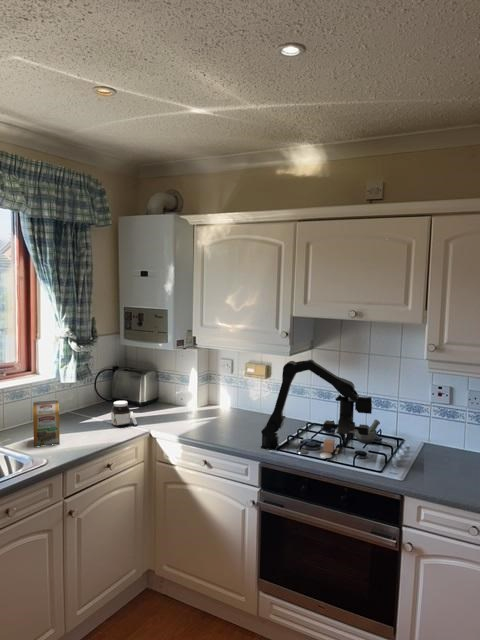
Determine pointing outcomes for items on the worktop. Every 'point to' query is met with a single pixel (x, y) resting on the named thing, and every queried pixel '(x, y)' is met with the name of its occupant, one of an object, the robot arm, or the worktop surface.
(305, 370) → the robot arm
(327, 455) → the ceramic puck
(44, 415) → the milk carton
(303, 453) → the steel puck
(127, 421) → the spread jar
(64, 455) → the worktop surface
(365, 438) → the mortar and pestle
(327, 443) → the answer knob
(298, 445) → the selector rail
